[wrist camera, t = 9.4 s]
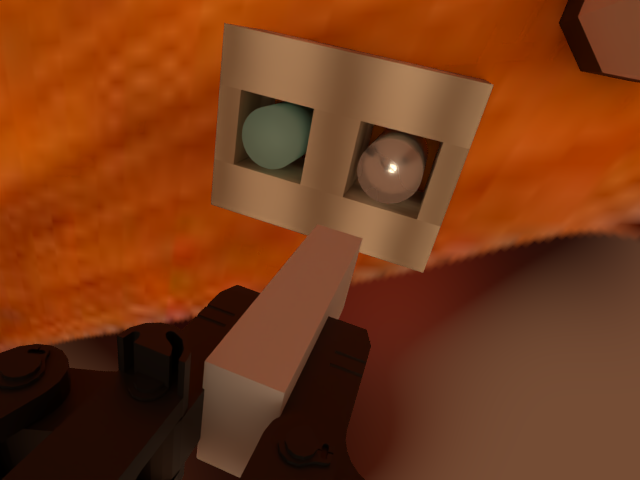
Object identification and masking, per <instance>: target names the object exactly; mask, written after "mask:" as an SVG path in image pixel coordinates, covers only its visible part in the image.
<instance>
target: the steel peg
mask: <svg viewBox="0 0 640 480" xmlns="http://www.w3.org/2000/svg"><path fill="white" fill-rule="evenodd" d="M427 158H428V146H427V143H426V140H425V139H424V137H421V136H417V135H413V134H409V133H405V132H402V131H398V130H394V129H390V128H389V129H387V130H386V131H384V132H383V133H382V134H381V135H380V136H379V137H378V138H377V139H376V140H375V141H374V142H373V143H372V144H371V145H370V146H369V147H368V148H367V149H366V150H365V151H364V152H363V154H362V155H361V157H360V159H359V162H358V167H357V176H358V181H359V183H360V186H361V188H362V189H363V191H364V192H365V193H366V194H367V195H368V196H369V197H371V198H372V199H374V200H376V201H378V202H381V203H386V204H394V203H399V202H402V201H404V200H406V199H408V198H409V197H411V196H412V195H413V194H414V193H415V192H416V191H417V189H418V187H419V186H420V183H421V181H422V177H423V173H424V169H425V166H426V162H427Z"/></svg>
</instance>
